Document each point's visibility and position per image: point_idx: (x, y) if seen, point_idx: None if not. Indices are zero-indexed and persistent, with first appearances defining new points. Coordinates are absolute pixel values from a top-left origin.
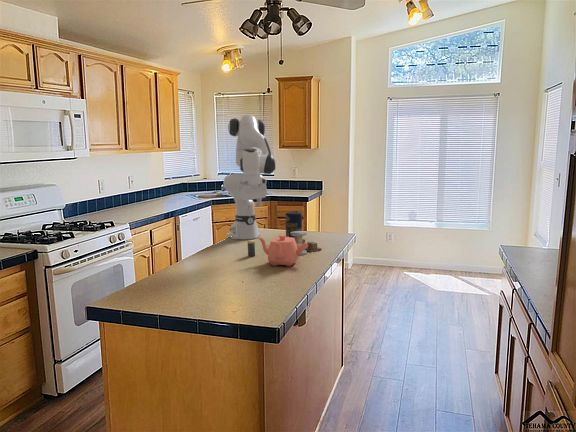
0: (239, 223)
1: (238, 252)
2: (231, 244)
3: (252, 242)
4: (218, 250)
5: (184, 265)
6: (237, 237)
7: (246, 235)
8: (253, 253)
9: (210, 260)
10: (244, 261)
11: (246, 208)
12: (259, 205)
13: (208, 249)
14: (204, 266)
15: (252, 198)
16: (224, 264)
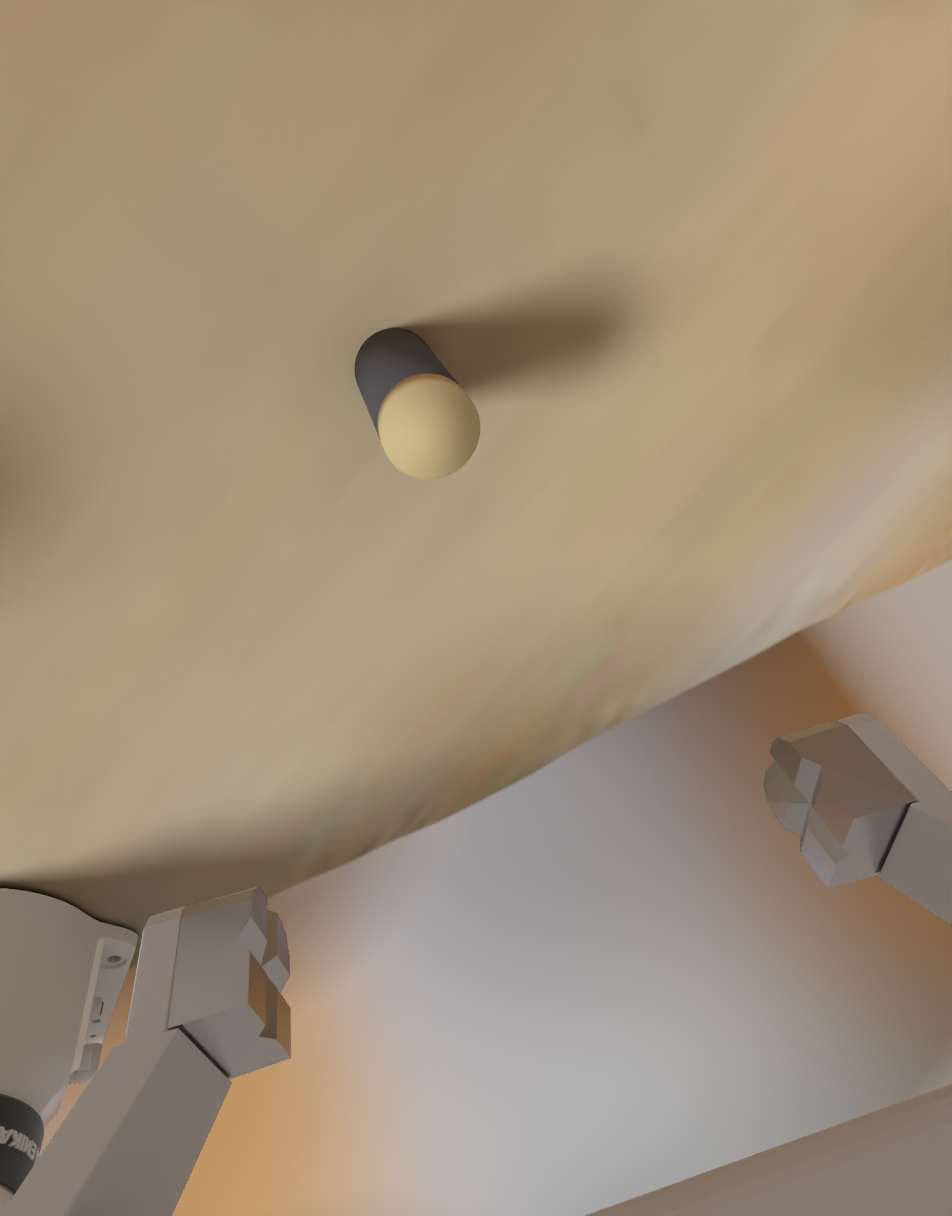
0: (36, 1083)
1: (388, 581)
2: (249, 823)
3: (444, 380)
4: (453, 729)
5: (882, 541)
6: (99, 938)
7: (14, 930)
8: (406, 337)
9: (711, 526)
10: (602, 244)
11: (873, 738)
12: (192, 949)
13: (479, 787)
14: (870, 410)
15: (950, 1165)
16: (769, 324)
